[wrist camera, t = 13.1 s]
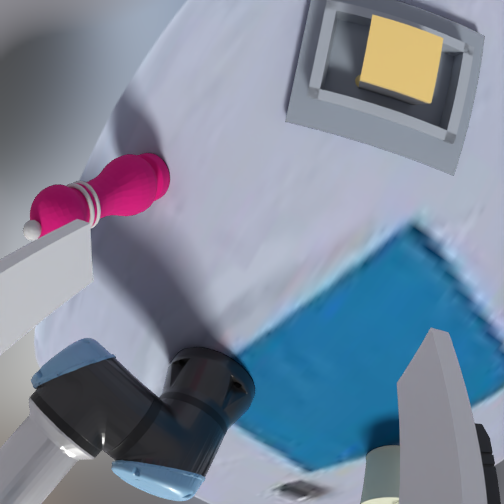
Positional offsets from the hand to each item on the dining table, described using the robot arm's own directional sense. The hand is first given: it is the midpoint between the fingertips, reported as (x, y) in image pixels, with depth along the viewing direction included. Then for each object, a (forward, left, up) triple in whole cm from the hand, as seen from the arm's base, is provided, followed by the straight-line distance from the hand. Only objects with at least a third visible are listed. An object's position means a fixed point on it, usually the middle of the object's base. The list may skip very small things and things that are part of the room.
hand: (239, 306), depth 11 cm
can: (-46, -30, -26) cm, 60 cm away
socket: (+12, -5, -25) cm, 29 cm away
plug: (+12, -5, -24) cm, 27 cm away
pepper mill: (-6, +20, -26) cm, 33 cm away
